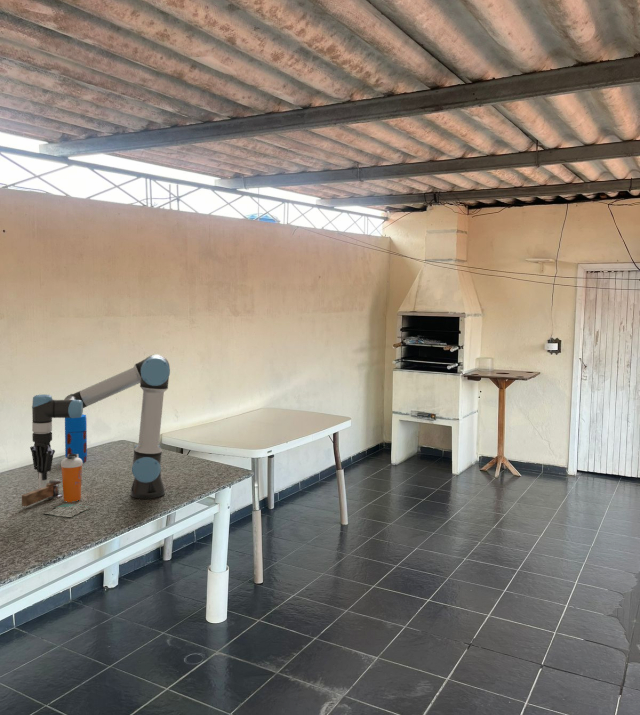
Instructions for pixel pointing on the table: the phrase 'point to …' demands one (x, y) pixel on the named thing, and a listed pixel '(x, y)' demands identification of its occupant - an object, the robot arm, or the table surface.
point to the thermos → (76, 437)
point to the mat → (66, 505)
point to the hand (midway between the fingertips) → (42, 487)
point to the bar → (39, 493)
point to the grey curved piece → (56, 492)
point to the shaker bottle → (71, 477)
